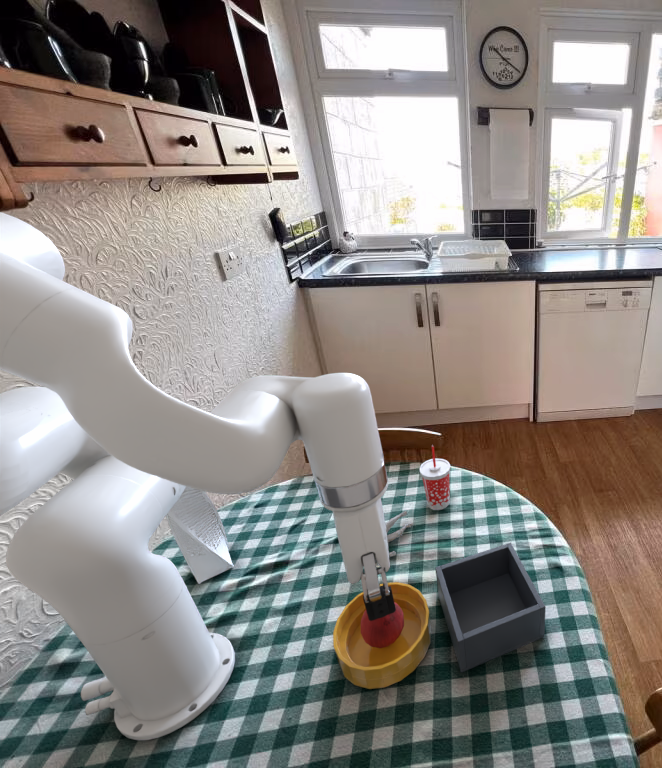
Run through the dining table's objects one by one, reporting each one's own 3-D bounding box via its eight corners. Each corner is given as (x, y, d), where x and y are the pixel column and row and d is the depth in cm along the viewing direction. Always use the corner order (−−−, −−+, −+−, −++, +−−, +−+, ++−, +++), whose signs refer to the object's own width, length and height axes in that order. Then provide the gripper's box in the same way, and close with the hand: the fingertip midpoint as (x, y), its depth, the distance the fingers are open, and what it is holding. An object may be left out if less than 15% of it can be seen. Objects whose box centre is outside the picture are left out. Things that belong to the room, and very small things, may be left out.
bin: (461, 673, 56) (457, 641, 53) (438, 596, 66) (435, 567, 63) (544, 637, 60) (545, 606, 57) (511, 570, 71) (510, 542, 68)
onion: (404, 616, 63) (398, 579, 59) (408, 652, 58) (401, 614, 54) (364, 628, 61) (355, 590, 58) (365, 666, 56) (355, 628, 53)
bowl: (341, 708, 52) (334, 687, 50) (337, 620, 63) (332, 600, 61) (440, 666, 56) (438, 645, 55) (421, 591, 67) (418, 571, 65)
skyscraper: (185, 562, 73) (120, 425, 61) (234, 540, 77) (182, 409, 65) (191, 592, 67) (120, 448, 55) (243, 567, 72) (188, 429, 60)
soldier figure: (421, 538, 79) (374, 568, 68) (405, 548, 81) (357, 578, 70) (402, 502, 80) (353, 525, 69) (387, 512, 82) (337, 536, 71)
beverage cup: (459, 501, 86) (455, 445, 80) (436, 517, 82) (430, 459, 76) (440, 488, 90) (435, 434, 84) (417, 503, 86) (410, 447, 80)
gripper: (317, 448, 53) (344, 545, 61) (316, 543, 39) (352, 656, 46) (377, 434, 56) (396, 529, 63) (397, 519, 41) (419, 630, 49)
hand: (378, 583), depth 55 cm, fingers open, 9 cm apart
